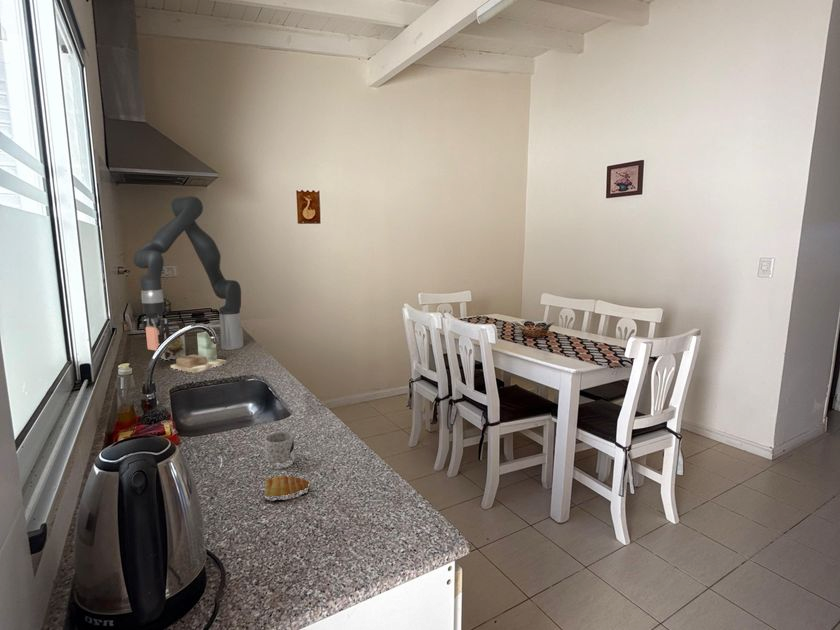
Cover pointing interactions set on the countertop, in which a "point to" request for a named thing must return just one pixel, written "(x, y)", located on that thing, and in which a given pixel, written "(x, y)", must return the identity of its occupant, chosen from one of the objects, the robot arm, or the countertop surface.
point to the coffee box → (175, 342)
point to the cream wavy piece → (200, 356)
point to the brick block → (152, 338)
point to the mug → (279, 447)
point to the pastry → (284, 485)
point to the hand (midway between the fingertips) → (157, 342)
